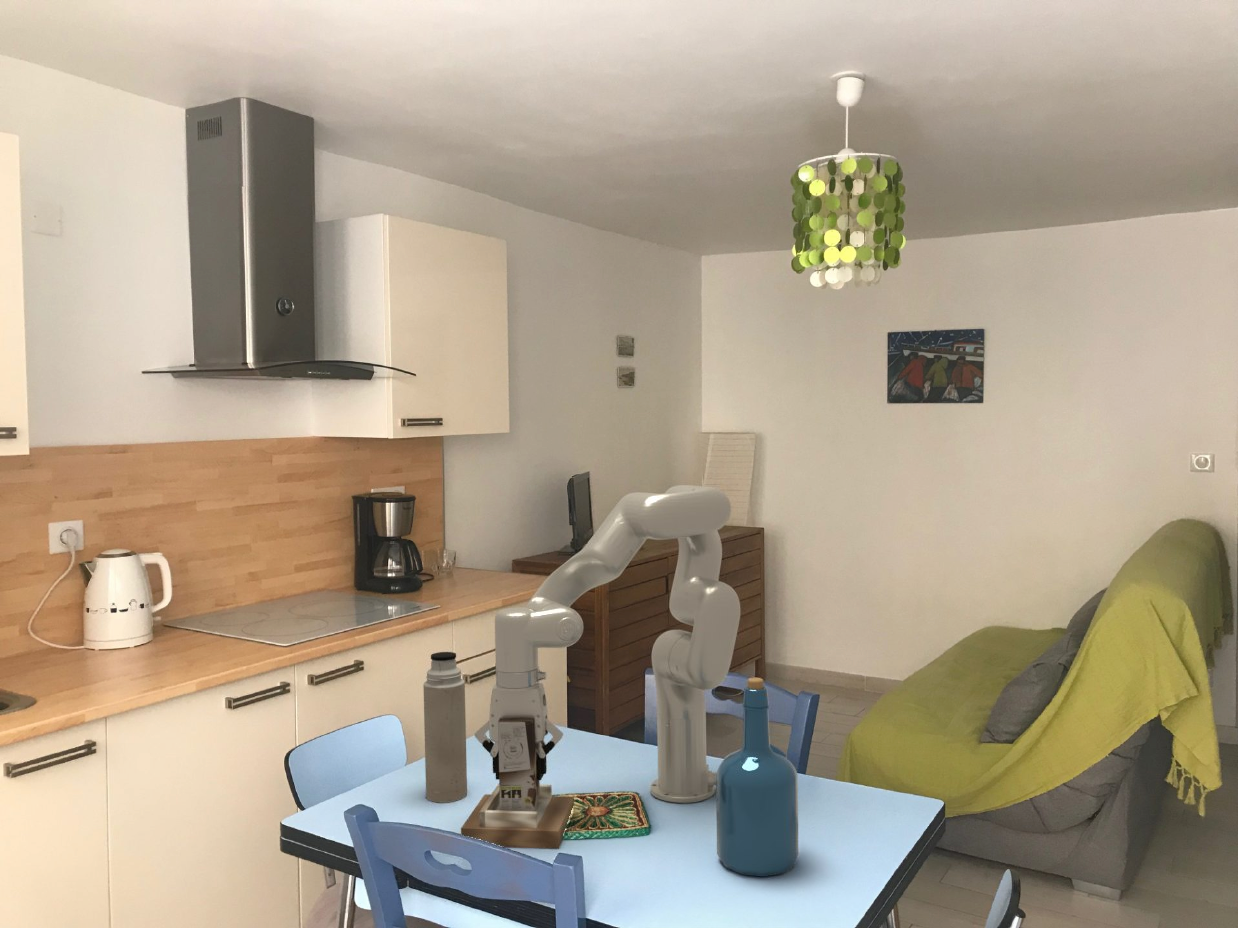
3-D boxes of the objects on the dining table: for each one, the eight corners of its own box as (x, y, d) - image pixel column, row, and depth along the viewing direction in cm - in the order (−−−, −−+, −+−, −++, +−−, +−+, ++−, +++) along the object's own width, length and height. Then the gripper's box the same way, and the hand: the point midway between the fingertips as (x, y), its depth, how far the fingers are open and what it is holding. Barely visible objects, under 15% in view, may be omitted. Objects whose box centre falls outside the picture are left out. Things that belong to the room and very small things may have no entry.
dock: (574, 812, 182) (573, 783, 182) (558, 848, 166) (558, 816, 166) (484, 809, 184) (484, 780, 184) (461, 845, 168) (460, 813, 168)
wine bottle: (779, 886, 151) (777, 693, 150) (703, 867, 158) (700, 683, 157) (812, 853, 162) (810, 674, 162) (739, 837, 169) (736, 665, 169)
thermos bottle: (438, 786, 197) (435, 647, 196) (474, 790, 195) (471, 650, 194) (418, 800, 190) (414, 656, 189) (454, 804, 187) (451, 659, 186)
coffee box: (535, 812, 170) (533, 720, 170) (498, 813, 170) (496, 721, 170) (541, 793, 179) (538, 706, 179) (506, 793, 180) (503, 706, 179)
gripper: (568, 673, 177) (571, 770, 178) (475, 672, 179) (478, 769, 180) (561, 683, 170) (564, 785, 170) (464, 683, 172) (466, 783, 172)
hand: (519, 776), depth 175 cm, fingers closed on coffee box, 6 cm apart
